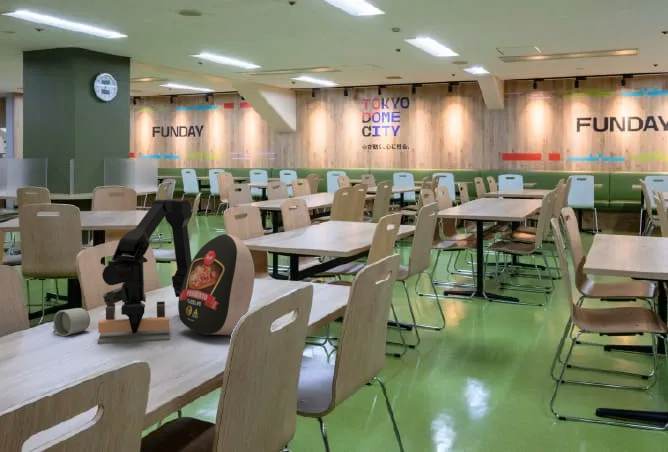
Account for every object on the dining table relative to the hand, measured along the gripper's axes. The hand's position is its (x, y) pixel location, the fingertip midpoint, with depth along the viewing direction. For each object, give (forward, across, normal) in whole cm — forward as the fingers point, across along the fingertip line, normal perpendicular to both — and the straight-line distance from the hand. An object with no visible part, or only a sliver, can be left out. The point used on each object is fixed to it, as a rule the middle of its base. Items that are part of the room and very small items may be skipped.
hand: (134, 331), depth 203 cm
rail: (0, 0, 0) cm, 0 cm away
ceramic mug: (+2, -10, -20) cm, 22 cm away
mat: (+2, 0, 0) cm, 2 cm away
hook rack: (+2, -11, 0) cm, 11 cm away
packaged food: (+2, 0, +24) cm, 24 cm away
